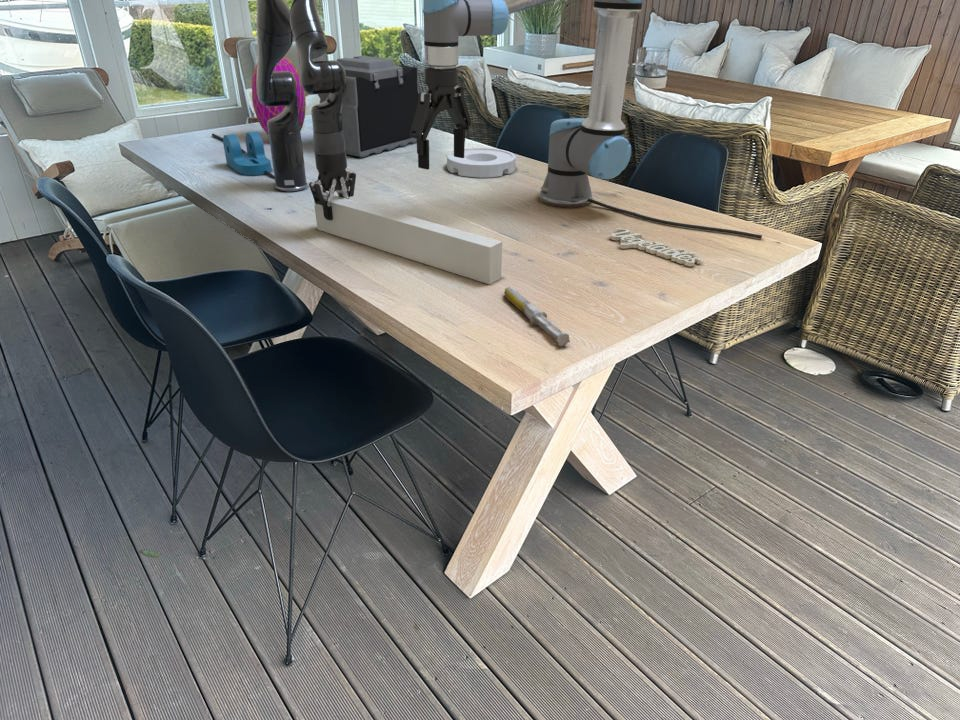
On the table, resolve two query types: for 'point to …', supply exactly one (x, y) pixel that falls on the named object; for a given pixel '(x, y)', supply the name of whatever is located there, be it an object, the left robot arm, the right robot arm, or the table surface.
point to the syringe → (536, 316)
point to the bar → (414, 239)
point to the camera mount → (246, 154)
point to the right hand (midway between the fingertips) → (441, 162)
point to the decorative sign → (653, 247)
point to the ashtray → (482, 162)
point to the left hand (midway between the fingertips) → (336, 216)
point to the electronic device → (377, 104)
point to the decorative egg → (270, 112)
